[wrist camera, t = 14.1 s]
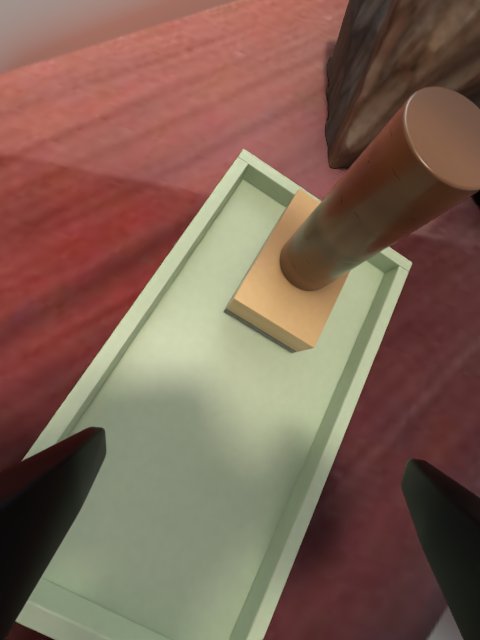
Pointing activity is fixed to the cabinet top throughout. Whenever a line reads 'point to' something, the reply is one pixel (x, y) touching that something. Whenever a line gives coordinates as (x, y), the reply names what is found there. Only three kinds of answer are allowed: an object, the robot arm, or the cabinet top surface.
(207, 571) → the tray
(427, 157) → the rubber stamp
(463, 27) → the jagged stone chunk
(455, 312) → the cabinet top surface
